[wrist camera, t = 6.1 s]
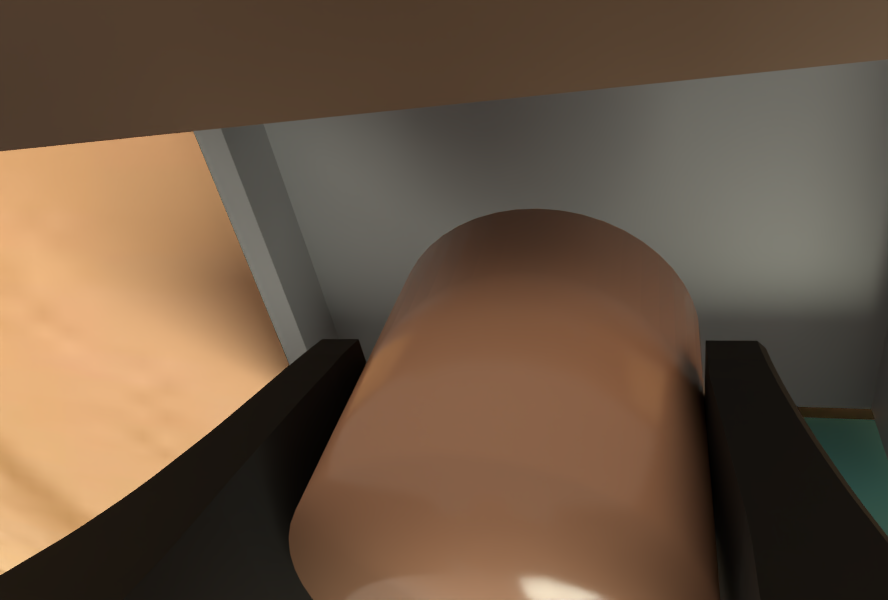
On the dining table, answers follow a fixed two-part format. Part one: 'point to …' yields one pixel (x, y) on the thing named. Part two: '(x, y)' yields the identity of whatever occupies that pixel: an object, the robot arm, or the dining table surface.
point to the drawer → (607, 215)
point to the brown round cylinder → (521, 429)
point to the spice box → (379, 55)
